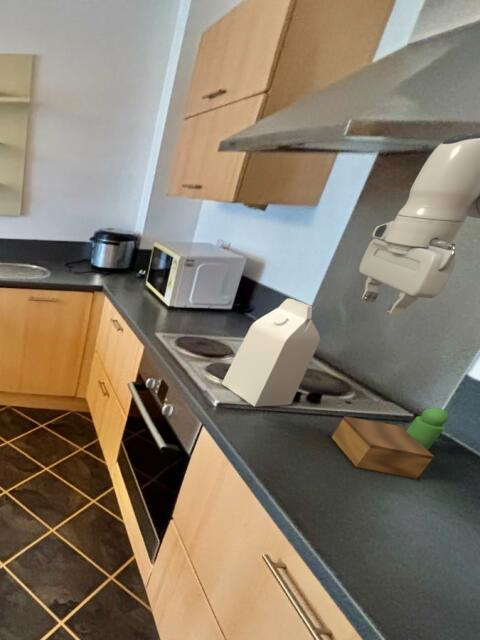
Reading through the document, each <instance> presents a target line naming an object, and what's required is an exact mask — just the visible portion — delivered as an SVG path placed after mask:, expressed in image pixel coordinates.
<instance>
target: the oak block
mask: <svg viewBox="0 0 480 640" xmlns="http://www.w3.org/2000/svg"><path fill="white" fill-rule="evenodd" d="M406 430H407V429H405V428H403V426H401V425H396V424H391V423H385V422H380V421H373V420H367V419H363V418H357V417H351V416H344V417H343V418H342V420H341V421H340V422H339V424H338V425H337V428H336V429H335V431H334V432H333V434H332V436H331V438H332V440H333V441H334V442H335V443H336V445H337V446H338V447H339V449H341V451H342V452H343V453H344V454H345V456H346V457H347V458H348V459H349V460H350V461H351V463H352V464H353V465H354V466H355V467H356V468H360V469H365V470H371V471H375V472H381V473H386V474H390V475H395V476H400V477H405V478H410V479H418V478H419V477H420V475H421V474H422V473H423V472H424V470H425V469H426V468H427V467H428V466H429V464H430V463H431V462H432V461H433V459H434V458H435V455H434V454H433V453H431V452H430V451H429V449H428V450H427V449H426V448H425V447H423V446H422V445H421V444H420V443H419V442H418V441H417V440H416V439H414V438H413V437H412V436H411V435H410V434H409V433H408V432H407V431H406Z"/></svg>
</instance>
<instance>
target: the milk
mask: <svg viewBox="0 0 480 640" xmlns="http://www.w3.org/2000/svg"><path fill="white" fill-rule="evenodd" d="M312 313H313V306H311V305H310V304H306V303H304V302H302V301H299V300H296V299H295V298H286V299H285V300H284V301H282V303H281V304H280V305H279V306H278V307H276V308H275V309H273V310H272V311H270V312H268V313H267V314H265V315H263V316H261V317H260V318H258V319H256V320H255V321H254V322H253V323H252V324H251V325H250V327H249V329H248V331H247V333H246V335H245V337H244V339H243V341H242V342H241V345H240V346H239V348H238V350H237V352H236V354H235V356H234V358H233V359H232V362H231V364H230V366H229V368H228V370H227V372H226V373H225V376H224V378H223V380H222V382H221V384H222V385H223V386H224V387H226V388H227V389H229V390H230V391H231V392H233V393H234V394H236V395H237V396H238V397H240V398H241V399H243V400H244V401H245V402H247V403H248V404H250V405H251V406H252V407H254V408H255V407H258V408H259V407H272V406H273V407H274V406H286V405H287V406H288V405H291V404H292V403H293V401H294V398H295V397H296V394H297V392H298V390H299V388H300V385H301V384H302V381H303V379H304V377H305V375H306V373H307V370H308V368H309V366H310V363H311V361H312V360H313V357H314V355H315V353H316V351H317V349H318V346H319V345H320V342H321V337H320V333H319V331H318V329H317V327H316V326H315V324H314V322H313V320H312V316H313V315H312Z"/></svg>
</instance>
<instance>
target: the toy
mask: <svg viewBox="0 0 480 640" xmlns="http://www.w3.org/2000/svg"><path fill="white" fill-rule="evenodd" d="M449 417H450V416H449V413H448V412H447V411H446V410H444V409H442V408H439V407H429V408H426V409H425V410H424V411H423V412H421V415H420V416H416V417H415V418H414V419H413V420H412V422H411V424H410V425H409V426H408V428H407V429H405V430H406V431H407V432H408V433H409V434H410V435H411V436H412V437H413V438H414V439H416V440H417V441H418V442H419V443H420V444H421V445H422V446H423V447H425V448H426V449H427V450H428V451H429V449H430V448H431V447H432V446H433V444H434V443H435V442H436V441H437V439H438V438H439V437H440V436H441V434H442V433H443V432H444V430H445V429H446V426H445V424H446V423H448V421H449Z"/></svg>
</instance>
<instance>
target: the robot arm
mask: <svg viewBox="0 0 480 640" xmlns="http://www.w3.org/2000/svg"><path fill="white" fill-rule="evenodd" d="M467 217H470V218H473V219H480V132H477V133H475V132H474V133H467V134H460V135H455V136H452V137H449V138H447V139H445V140H443V141H441V143H439V144H438V145H437V146H436V148H434V149H433V151H432V152H431V154H430V155H429V156H428V158H427V160H426V161H425V162H424V164H423V166H422V167H421V169H420V171H419V173H418V174H417V175H416V178H415V180H414V182H413V184H412V186H411V188H410V191H409V196H408V198H407V201H406V203H405V204H404V205H403V207H402V208H401V209H399V211H398V213H397V214H396V216H395V218H394V220H391V221H389V222H386V223H383V224H379V225H377V226H376V227H375V229H374V230H373V232H372V234H371V235H372V237H373V239H372V240H371V241H370V242H369V244H368V245H367V248H366V250H365V252H364V254H363V256H362V259H361V260H360V262H359V268H358V271H359V273H360V274H361V275H364V276H366V277H367V278H366V280H365V286H364V292H363V294H362V296H361V299H362V300H363V301H365V302H370V303H374V302H375V301H376V300H377V298H378V296H379V295H380V294H379V293H378V290H379V287H380V285H382V284H385V285H386V286H388V287H391V288H394V289H396V290H397V291H400V292H399V294H398V299H397V300H396V301H395V302H394V303H390V305H389V306H388V308H387V309H386V313H387V314H388V315H391V316H393V317H401V316H402V315H403V314H404V312H405V310H406V309H407V308H409V306H411V305H412V304H414V303H415V302H416V301H417V300H418V298H426V299H435V298H436V297H438V296H439V295H440V294H441V293H442V292H443V290H444V289H445V287H446V285H447V283H448V281H449V279H450V277H451V275H452V273H453V271H454V269H455V266H456V263H457V251H456V244H455V243H454V240H455V238H456V237H457V235H458V233H459V232H460V230H461V228H462V227H463V225H464V223H465V221H466V219H467Z"/></svg>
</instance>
